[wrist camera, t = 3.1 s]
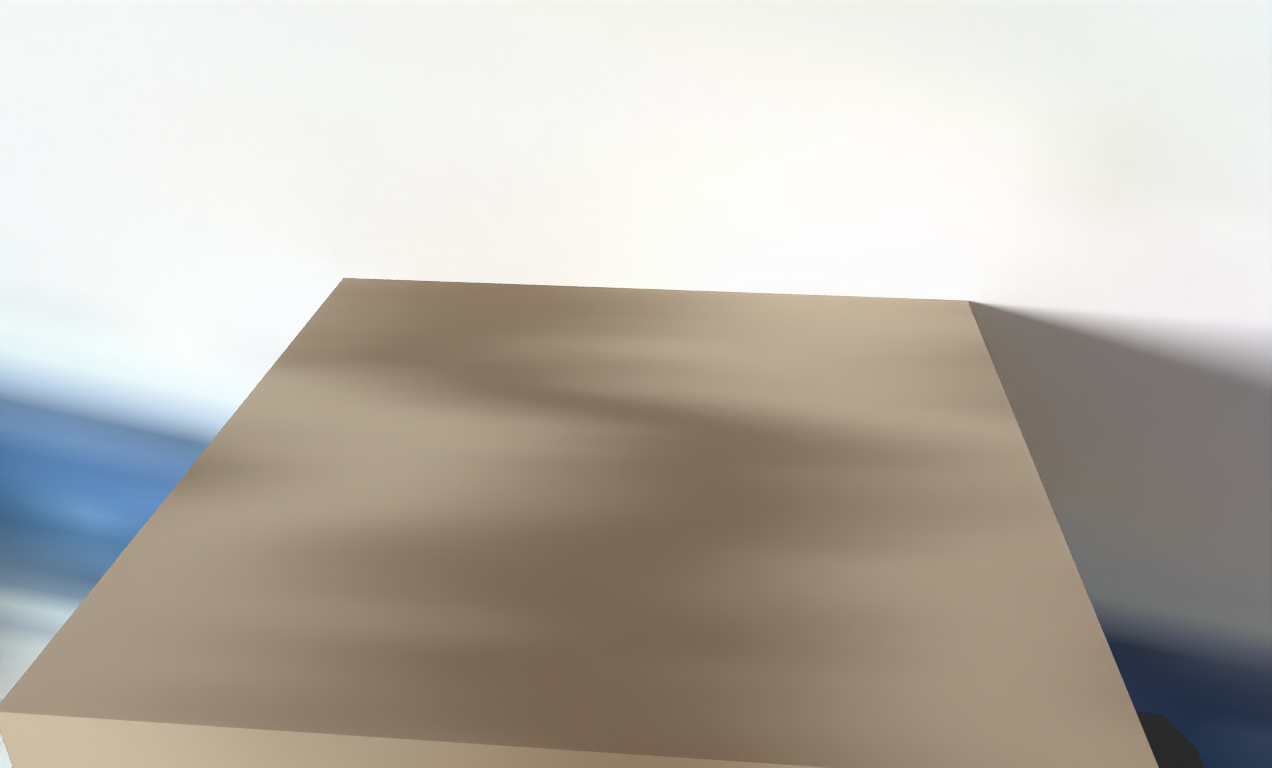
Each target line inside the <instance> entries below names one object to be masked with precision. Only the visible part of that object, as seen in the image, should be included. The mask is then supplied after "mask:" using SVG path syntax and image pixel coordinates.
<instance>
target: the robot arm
mask: <svg viewBox="0 0 1272 768" xmlns="http://www.w3.org/2000/svg"><path fill="white" fill-rule="evenodd" d="M1136 713H1137V716H1138V718H1139V721H1140V723H1141V726H1142V728H1143V730H1144V733H1145V735H1146V738H1147V740H1148V743H1149V745H1150V748H1151V750H1152V752H1153V755H1154V757H1155V760H1156V762H1157V765H1158V767H1159V768H1204V765H1203V763H1202V761H1201V759H1200V756H1199V754H1198V752H1197V750H1196V748H1195V747H1194V746H1193V745H1192V744H1191V743H1190V742H1189V741H1188V740H1187V739H1186V738H1185V737H1184V736H1183V735H1182V734H1181V733H1180V732H1179V731H1178V730H1177V729H1176V728H1175V727H1174V726H1173V725H1172V724H1171V723H1170V722H1169V721H1168V720H1167V718H1166V717H1165V716H1164V715H1163V714H1155V713H1140V712H1136Z"/></svg>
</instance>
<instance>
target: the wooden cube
mask: <svg viewBox="0 0 1272 768" xmlns="http://www.w3.org/2000/svg"><path fill="white" fill-rule="evenodd" d="M0 731H1V734H2V737H3V740H4V743H5V746H6V749H7V752H8V755H9V758H10V761H11V763H12V766H13V768H1159V767H1158V765H1157V762H1156V760H1155V757H1154V755H1153V752H1152V750H1151V748H1150V745H1149V743H1148V740H1147V738H1146V735H1145V733H1144V730H1143V728H1142V726H1141V723H1140V721H1139V718H1138V716H1137V713H1136V711H1135V708H1134V706H1133V704H1132V701H1131V699H1130V696H1129V694H1128V691H1127V689H1126V686H1125V684H1124V682H1123V679H1122V677H1121V674H1120V672H1119V669H1118V667H1117V664H1116V662H1115V660H1114V657H1113V655H1112V652H1111V650H1110V647H1109V645H1108V642H1107V640H1106V638H1105V635H1104V633H1103V630H1102V628H1101V625H1100V623H1099V620H1098V618H1097V615H1096V613H1095V611H1094V608H1093V606H1092V603H1091V601H1090V598H1089V596H1088V593H1087V591H1086V589H1085V586H1084V584H1083V581H1082V579H1081V576H1080V574H1079V571H1078V569H1077V567H1076V564H1075V562H1074V559H1073V557H1072V554H1071V552H1070V549H1069V547H1068V545H1067V542H1066V540H1065V537H1064V535H1063V532H1062V530H1061V527H1060V525H1059V523H1058V520H1057V518H1056V515H1055V513H1054V510H1053V508H1052V505H1051V503H1050V501H1049V498H1048V496H1047V493H1046V491H1045V488H1044V486H1043V483H1042V481H1041V479H1040V476H1039V474H1038V471H1037V469H1036V466H1035V464H1034V461H1033V459H1032V457H1031V454H1030V452H1029V449H1028V447H1027V444H1026V442H1025V439H1024V437H1023V435H1022V432H1021V430H1020V427H1019V425H1018V422H1017V420H1016V417H1015V415H1014V413H1013V410H1012V408H1011V405H1010V403H1009V400H1008V398H1007V395H1006V393H1005V391H1004V388H1003V386H1002V383H1001V381H1000V378H999V376H998V373H997V371H996V369H995V366H994V364H993V361H992V359H991V356H990V354H989V351H988V349H987V347H986V344H985V342H984V339H983V337H982V334H981V332H980V329H979V327H978V325H977V322H976V320H975V317H974V315H973V312H972V310H971V307H970V305H969V303H968V301H963V300H936V299H908V298H880V297H853V296H825V295H798V294H770V293H742V292H715V291H687V290H660V289H632V288H604V287H577V286H549V285H522V284H494V283H466V282H439V281H411V280H384V279H356V278H343V279H342V281H341V282H340V283H339V284H338V286H337V287H336V288H335V289H334V291H333V292H332V293H331V294H330V295H329V297H328V298H327V299H326V300H325V302H324V303H323V304H322V305H321V307H320V308H319V309H318V310H317V312H316V313H315V314H314V315H313V317H312V318H311V319H310V320H309V322H308V323H307V324H306V325H305V326H304V328H303V329H302V330H301V331H300V333H299V334H298V335H297V336H296V338H295V339H294V340H293V341H292V343H291V344H290V345H289V346H288V348H287V349H286V350H285V351H284V353H283V354H282V355H281V356H280V357H279V359H278V360H277V361H276V362H275V364H274V365H273V366H272V367H271V369H270V370H269V371H268V372H267V374H266V375H265V376H264V377H263V379H262V380H261V381H260V382H259V383H258V385H257V386H256V387H255V388H254V390H253V391H252V392H251V393H250V395H249V396H248V397H247V398H246V400H245V401H244V402H243V403H242V405H241V406H240V407H239V408H238V410H237V411H236V412H235V413H234V414H233V416H232V417H231V418H230V419H229V421H228V422H227V423H226V424H225V426H224V427H223V428H222V429H221V431H220V432H219V433H218V434H217V436H216V437H215V438H214V439H213V440H212V442H211V443H210V444H209V445H208V447H207V448H206V449H205V450H204V452H203V453H202V454H201V455H200V457H199V458H198V459H197V460H196V462H195V463H194V464H193V465H192V467H191V468H190V469H189V470H188V471H187V473H186V474H185V475H184V476H183V478H182V479H181V480H180V481H179V483H178V484H177V485H176V486H175V488H174V489H173V490H172V491H171V493H170V494H169V495H168V496H167V498H166V499H165V500H164V501H163V502H162V504H161V505H160V506H159V507H158V509H157V510H156V511H155V512H154V514H153V515H152V516H151V517H150V519H149V520H148V521H147V522H146V524H145V525H144V526H143V527H142V528H141V530H140V531H139V532H138V533H137V535H136V536H135V537H134V538H133V540H132V541H131V542H130V543H129V545H128V546H127V547H126V548H125V550H124V551H123V552H122V553H121V555H120V556H119V557H118V558H117V559H116V561H115V562H114V563H113V564H112V566H111V567H110V568H109V569H108V571H107V572H106V573H105V574H104V576H103V577H102V578H101V579H100V581H99V582H98V583H97V584H96V585H95V587H94V588H93V589H92V590H91V592H90V593H89V594H88V595H87V597H86V598H85V599H84V600H83V602H82V603H81V604H80V605H79V607H78V608H77V609H76V610H75V612H74V613H73V614H72V615H71V616H70V618H69V619H68V620H67V621H66V623H65V624H64V625H63V626H62V628H61V629H60V630H59V631H58V633H57V634H56V635H55V636H54V638H53V639H52V640H51V641H50V643H49V644H48V645H47V646H46V647H45V649H44V650H43V651H42V652H41V654H40V655H39V656H38V657H37V659H36V660H35V661H34V662H33V664H32V665H31V666H30V667H29V669H28V670H27V671H26V672H25V673H24V675H23V676H22V677H21V678H20V680H19V681H18V682H17V683H16V685H15V686H14V687H13V688H12V690H11V691H10V692H9V693H8V695H7V696H6V697H5V698H4V700H3V701H2V702H1V703H0Z"/></svg>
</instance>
